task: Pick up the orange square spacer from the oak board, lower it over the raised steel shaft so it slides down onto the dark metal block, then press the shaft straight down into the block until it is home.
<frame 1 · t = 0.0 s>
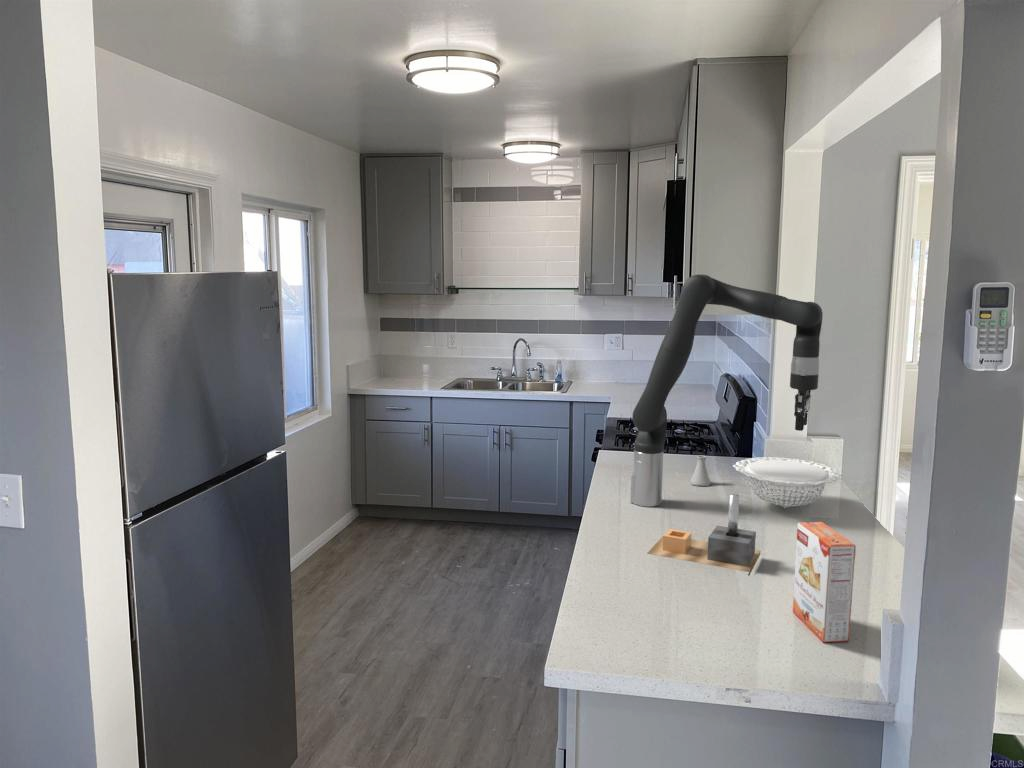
hand: (801, 427, 220), 29 cm above the worktop, tool pointing down, fingers open, 8 cm apart
cracker box: (818, 628, 160), on the worktop
bearing block: (703, 555, 200), on the worktop
white openwork bowl: (784, 508, 239), on the worktop
steel shaft: (733, 515, 195), point 12 cm above the worktop, slide at 5.0 cm
flask: (700, 484, 266), on the worktop
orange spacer: (676, 548, 202), point 1 cm above the worktop, touching bearing block
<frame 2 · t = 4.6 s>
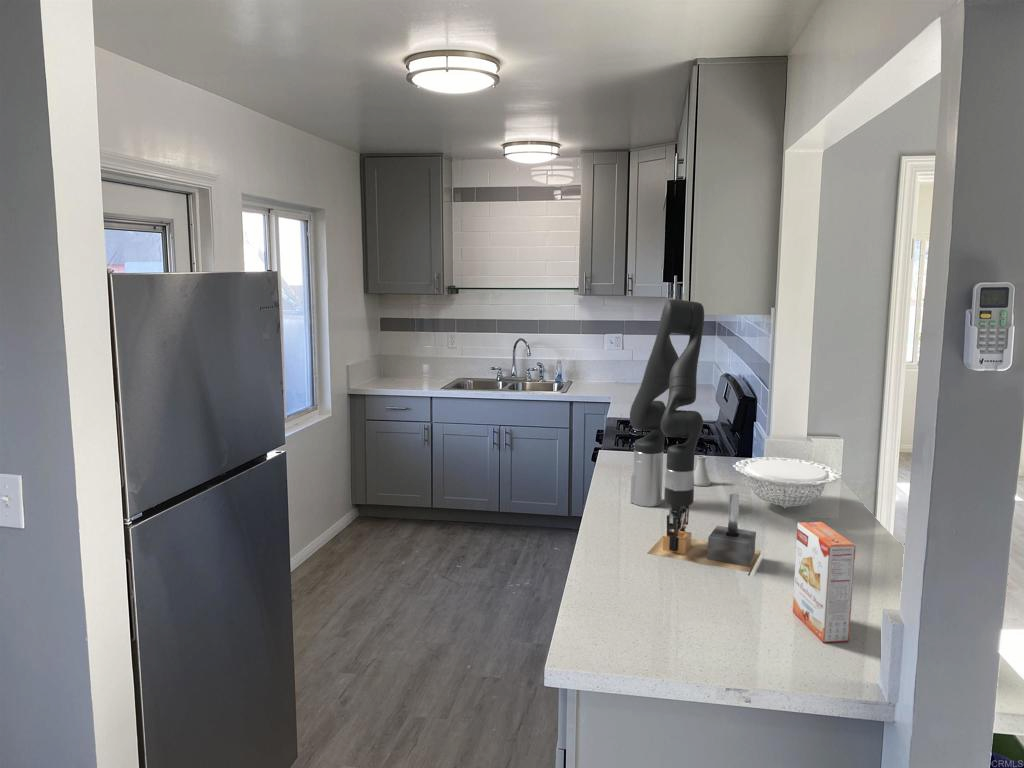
hand: (676, 546, 202), 2 cm above the worktop, tool pointing down, fingers closed on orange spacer, 6 cm apart
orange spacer: (676, 548, 202), point 1 cm above the worktop, touching bearing block, gripper
everything else where it was.
when the fingers open (14 cm above the worktop, at t = 9.9 s): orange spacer drops 6 cm, resting on bearing block.
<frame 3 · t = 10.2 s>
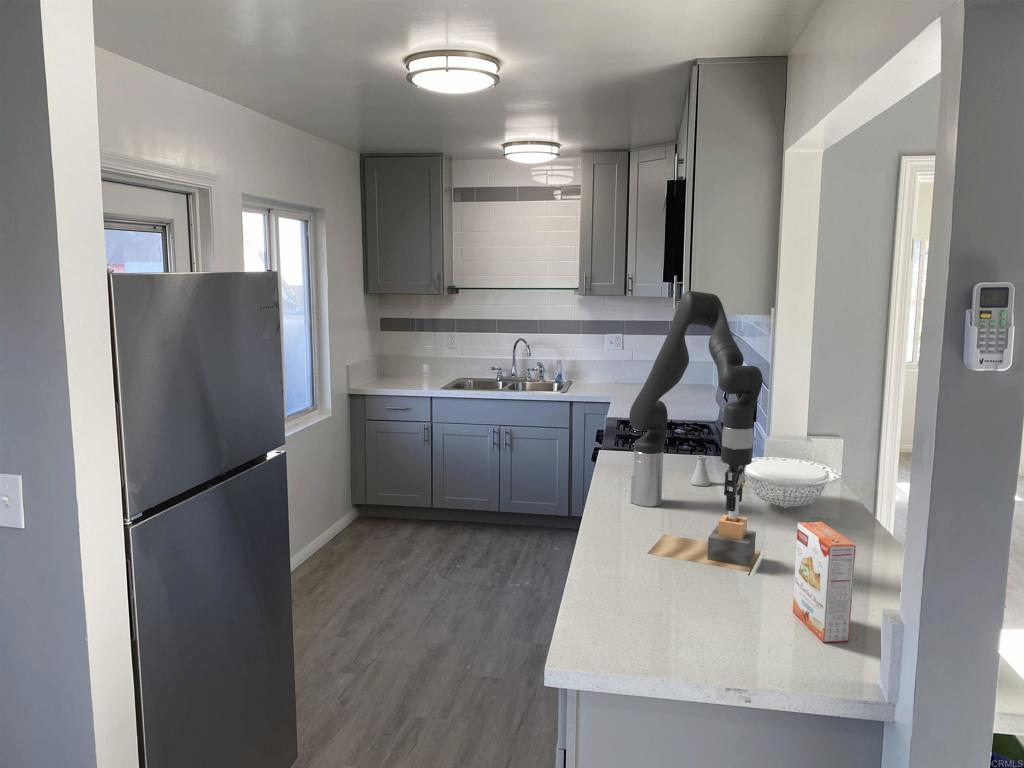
hand: (733, 506, 194), 15 cm above the worktop, tool pointing down, fingers open, 8 cm apart
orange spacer: (732, 534, 195), point 7 cm above the worktop, touching bearing block
everything else where it was.
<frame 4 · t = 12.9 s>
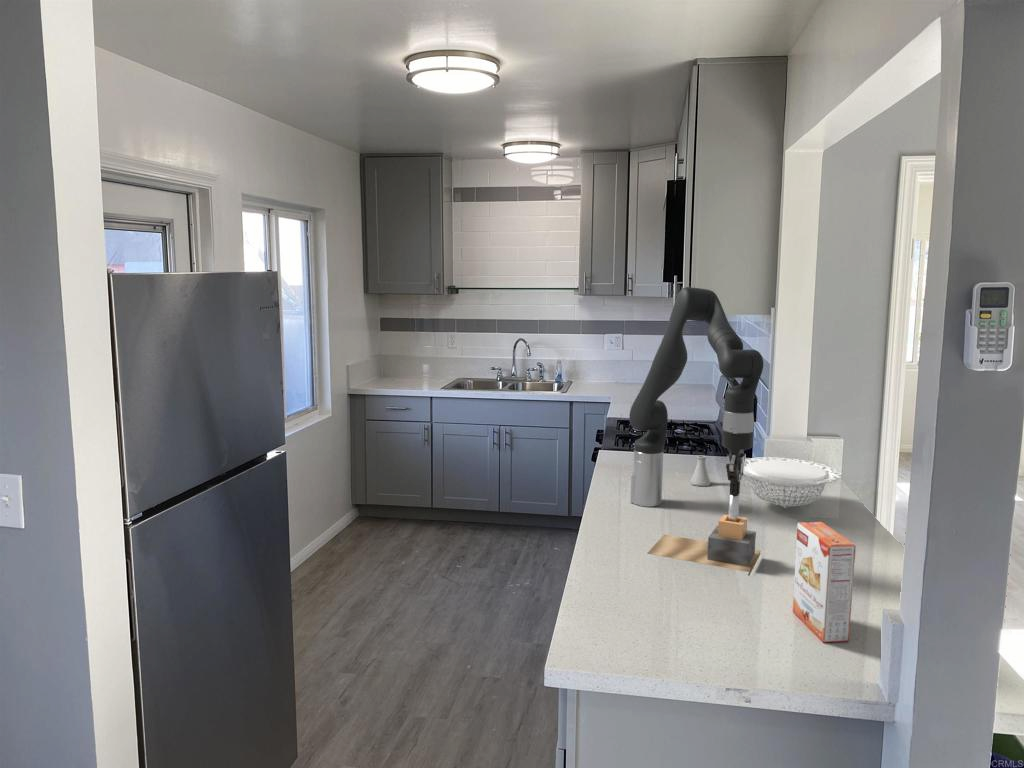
hand: (734, 494, 194), 18 cm above the worktop, tool pointing down, fingers closed
steel shaft: (733, 515, 195), point 12 cm above the worktop, slide at 5.0 cm, touching gripper
everything else where it was.
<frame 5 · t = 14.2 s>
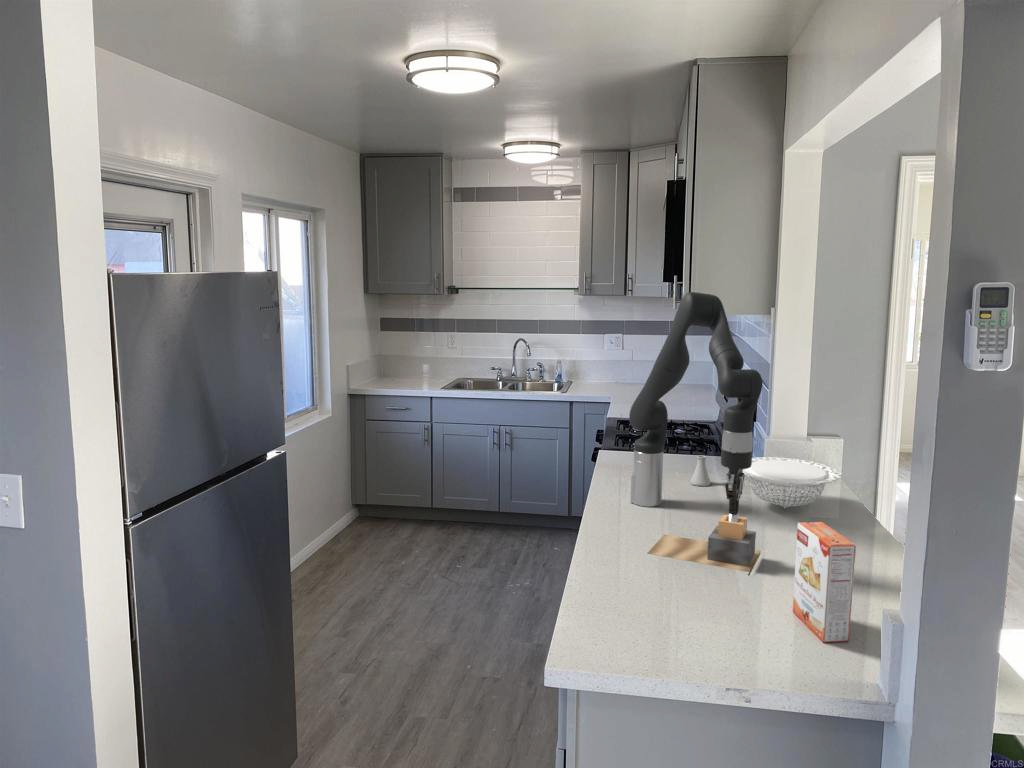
hand: (733, 513, 194), 13 cm above the worktop, tool pointing down, fingers closed
steel shaft: (732, 534, 195), point 7 cm above the worktop, slide at 0.1 cm, touching gripper
everything else where it was.
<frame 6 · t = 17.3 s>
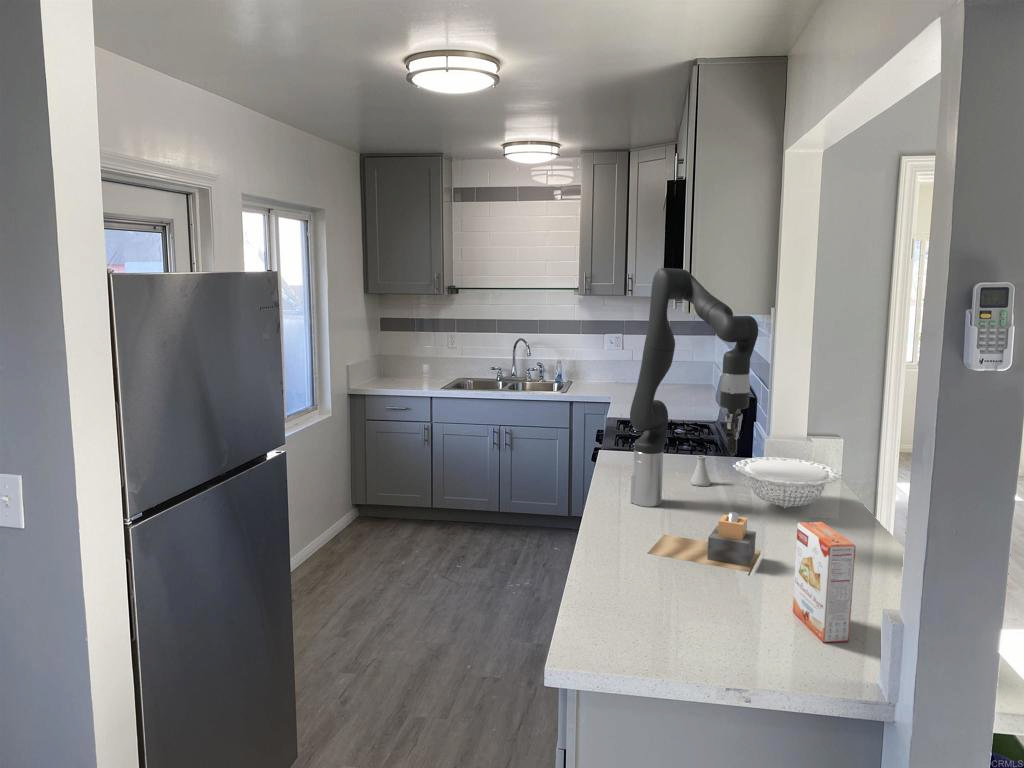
hand: (731, 452, 208), 25 cm above the worktop, tool pointing down, fingers closed
steel shaft: (732, 534, 195), point 7 cm above the worktop, slide at 0.0 cm
everything else where it was.
at the end: steel shaft slide at 0.0 cm; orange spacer 0.1 cm off-centre on the steel shaft, point 7.0 cm above the steel shaft's base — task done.
